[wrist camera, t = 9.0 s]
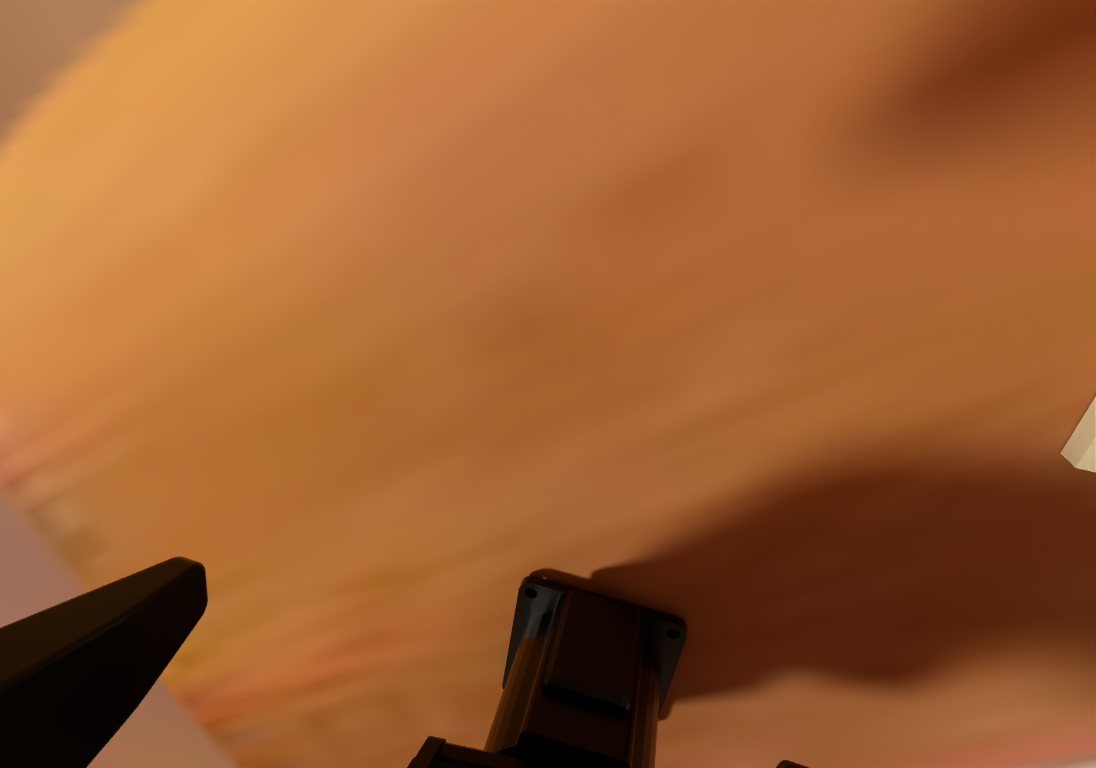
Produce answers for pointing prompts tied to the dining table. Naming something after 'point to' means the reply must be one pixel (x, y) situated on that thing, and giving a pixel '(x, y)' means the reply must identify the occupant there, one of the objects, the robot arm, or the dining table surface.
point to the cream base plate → (1083, 442)
